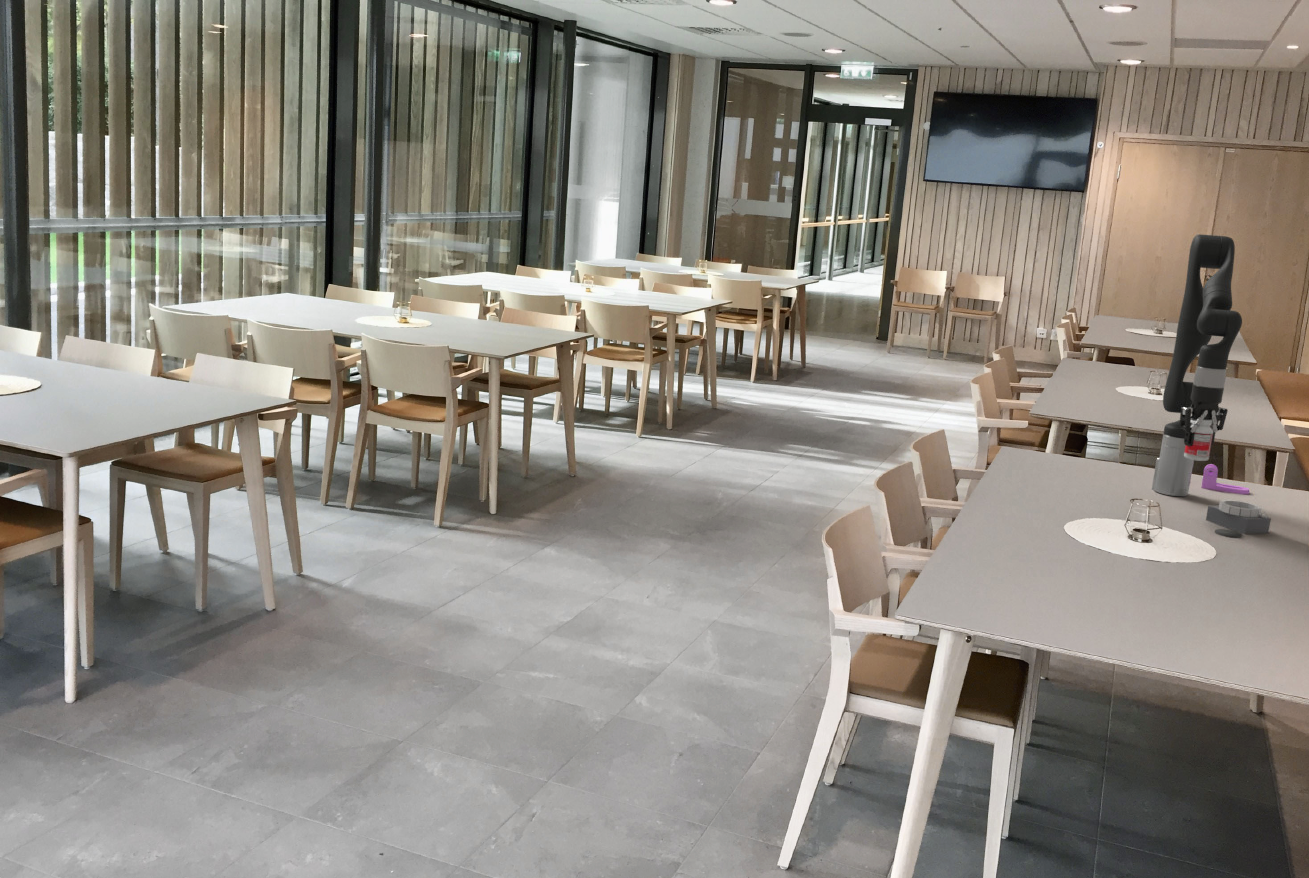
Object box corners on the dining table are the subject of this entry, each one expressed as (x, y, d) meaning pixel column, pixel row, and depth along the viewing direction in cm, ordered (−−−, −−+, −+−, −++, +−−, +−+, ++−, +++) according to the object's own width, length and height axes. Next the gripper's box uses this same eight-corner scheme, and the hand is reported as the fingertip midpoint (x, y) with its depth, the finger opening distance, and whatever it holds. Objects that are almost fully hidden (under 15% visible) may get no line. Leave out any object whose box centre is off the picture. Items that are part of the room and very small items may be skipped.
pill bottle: (1190, 455, 309) (1196, 415, 307) (1212, 460, 305) (1219, 420, 302) (1179, 457, 305) (1186, 417, 303) (1201, 462, 301) (1208, 421, 299)
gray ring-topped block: (1203, 520, 304) (1207, 498, 303) (1231, 519, 307) (1234, 497, 306) (1242, 534, 292) (1246, 511, 291) (1270, 532, 295) (1274, 510, 294)
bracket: (1201, 488, 344) (1205, 466, 343) (1201, 485, 349) (1205, 463, 348) (1248, 495, 338) (1252, 473, 337) (1248, 492, 343) (1252, 469, 342)
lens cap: (1208, 532, 293) (1209, 529, 293) (1227, 531, 295) (1228, 528, 295) (1228, 539, 287) (1228, 536, 287) (1247, 538, 289) (1248, 535, 289)
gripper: (1218, 382, 307) (1208, 442, 310) (1176, 381, 302) (1166, 442, 305) (1240, 387, 300) (1229, 448, 303) (1198, 386, 295) (1187, 448, 298)
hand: (1198, 445), depth 304 cm, fingers closed on pill bottle, 6 cm apart
